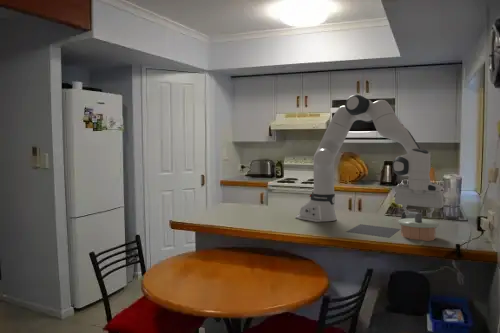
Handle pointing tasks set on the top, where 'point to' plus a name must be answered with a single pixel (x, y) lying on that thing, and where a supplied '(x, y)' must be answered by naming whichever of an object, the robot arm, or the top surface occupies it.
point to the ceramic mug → (411, 215)
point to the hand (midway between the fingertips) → (418, 216)
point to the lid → (418, 222)
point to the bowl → (418, 233)
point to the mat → (374, 230)
